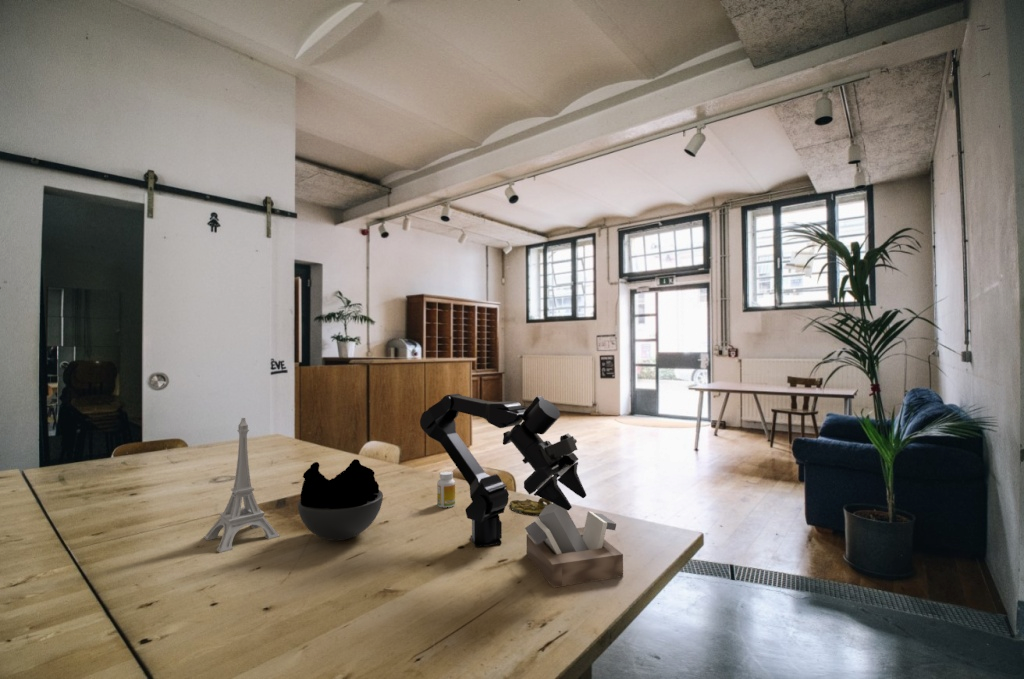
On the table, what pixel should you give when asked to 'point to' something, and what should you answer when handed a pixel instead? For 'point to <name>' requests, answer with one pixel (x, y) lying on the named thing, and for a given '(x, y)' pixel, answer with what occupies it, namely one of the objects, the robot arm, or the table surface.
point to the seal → (529, 506)
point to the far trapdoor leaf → (596, 530)
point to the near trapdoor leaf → (542, 535)
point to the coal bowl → (339, 501)
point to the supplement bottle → (446, 490)
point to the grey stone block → (562, 529)
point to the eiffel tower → (233, 512)
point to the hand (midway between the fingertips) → (577, 502)
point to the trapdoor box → (576, 563)
